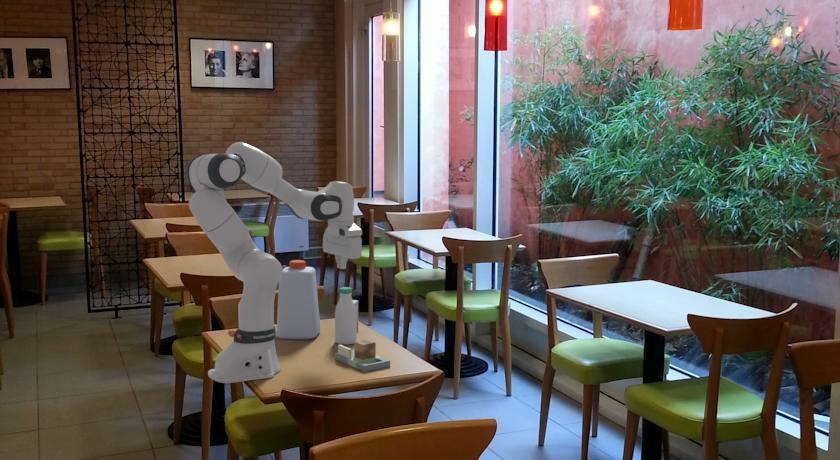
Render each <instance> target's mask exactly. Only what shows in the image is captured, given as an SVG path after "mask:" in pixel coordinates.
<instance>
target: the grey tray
mask: <svg viewBox="0 0 840 460" xmlns="http://www.w3.org/2000/svg"><path fill="white" fill-rule="evenodd" d="M334 360H336V361H339V362H341V363H343V364H346V365H347V366H350V367H352V368H354V369H357V370H358V371H361V372H364V373H366V372H371V370H372V371H376V370H380V369H381V370H382V369H385V367H386V368H390V367H391V360H389V359H386V358H385V357H381V356H379V355H377V354H376V357H374V358H369V359H365V360H362V359H360V358H357V357H355V349H352V348H351V347H348V346H345V345H342V344H337V352H336V353H334Z"/></svg>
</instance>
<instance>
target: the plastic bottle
mask: <svg viewBox="0 0 840 460" xmlns="http://www.w3.org/2000/svg"><path fill="white" fill-rule="evenodd" d="M306 263H307V262H306V261H305V260H302V259H293V260H290V261H289V263H288V264H289V265H288V266H285V267H284V268H282V269H283V275H282V278H281V280H280V282H279V283H278V294H277V311H276V313H277V314H276V317H277V318H276V329H275V330H276V338H278V339H280V340H290V339H291V340H295V341H296V340H299V341H300V340H301V341H302V340H303V341H304V340H306V341H307V340H313V339H315V338H316V337H318V335H319V333H320V332H321V321H320V310H319V309H320V308H319V298H318V285H317V274H316V273H317V272H316V269H315V268H314V267H313V266H307V264H306Z"/></svg>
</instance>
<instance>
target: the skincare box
mask: <svg viewBox="0 0 840 460" xmlns="http://www.w3.org/2000/svg"><path fill="white" fill-rule="evenodd" d="M352 300H353V303H354V305H355V307H356V320H357V332H359V300H357V299H352Z"/></svg>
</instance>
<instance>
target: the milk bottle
mask: <svg viewBox="0 0 840 460" xmlns="http://www.w3.org/2000/svg"><path fill="white" fill-rule="evenodd" d="M338 294H339V298H338V301H337V303H336V306H335V311H334V333H335V334H334V339H335V340H334V341H335V343H336V344H337V345H340V344H341V345H343V346H345V345H353V344H354V342H355V341H358V340H357V336H358V335H357V332H358V331H357V320H356V307H355V305H354V303H353V300H354V299H353V297H352V295H353V288H352V287H350V286H342V287H339V289H338ZM354 345H355V344H354Z"/></svg>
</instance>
